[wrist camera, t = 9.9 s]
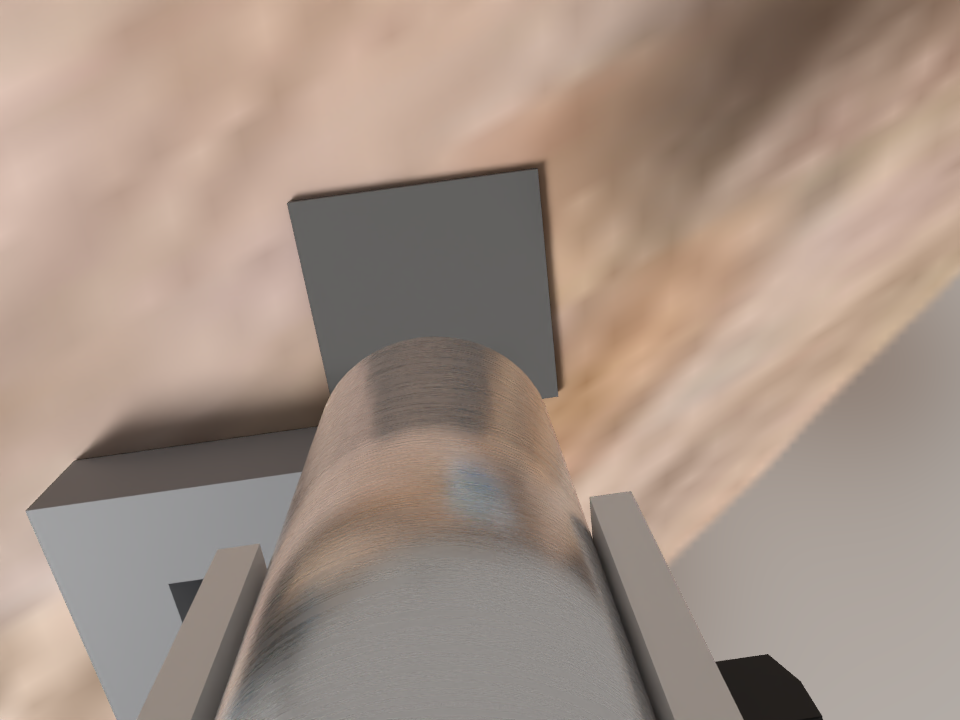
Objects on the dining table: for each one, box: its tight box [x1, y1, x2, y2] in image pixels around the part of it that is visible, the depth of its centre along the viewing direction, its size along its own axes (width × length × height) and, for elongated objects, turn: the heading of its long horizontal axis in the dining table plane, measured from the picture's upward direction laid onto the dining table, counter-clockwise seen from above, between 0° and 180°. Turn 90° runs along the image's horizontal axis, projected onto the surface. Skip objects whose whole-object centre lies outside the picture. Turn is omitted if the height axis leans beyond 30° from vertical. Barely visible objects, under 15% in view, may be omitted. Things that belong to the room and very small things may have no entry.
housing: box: [26, 426, 318, 720], centre depth 32 cm, size 16×16×4 cm
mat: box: [287, 168, 558, 399], centre depth 29 cm, size 10×10×1 cm
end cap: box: [214, 337, 656, 720], centre depth 12 cm, size 6×6×12 cm
